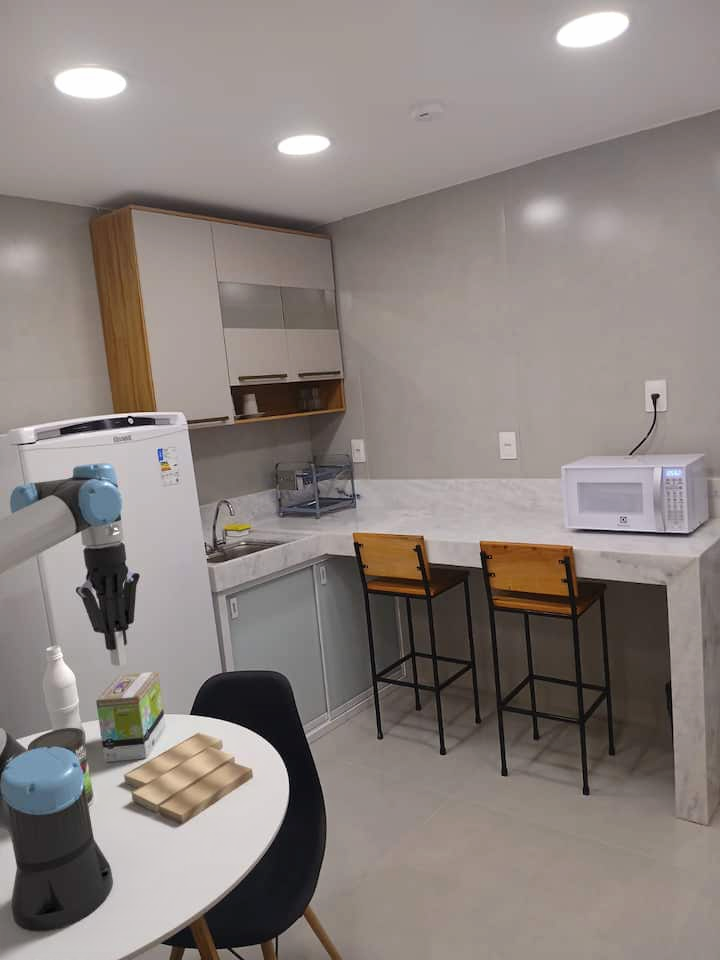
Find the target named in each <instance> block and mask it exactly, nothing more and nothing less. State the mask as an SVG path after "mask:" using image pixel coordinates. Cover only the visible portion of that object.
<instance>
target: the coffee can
mask: <svg viewBox="0 0 720 960" xmlns="http://www.w3.org/2000/svg"><path fill="white" fill-rule="evenodd" d="M83 737H84V735H83V731H82V730H81V729H78V728H64V729H59V730H55V731H53V730H52V731H51V730H50V731H49V732H46V733H44V734H42V735H40V736H37V737H36V738H34V739H32V741H31V742H29V744H28V745H27V750H28V751H30V750H33V749H37V748H43V747H47V749H49V748H52V747H61V748H65V749H67V750H70V751H71V752H73V753H74V754H75V755H76V756H77V758H78V759H79V762H80V765H81V769H82V770H83V774H84V779H85V790H86V796H87V801H88V807H90V806H91V805H92V804H93V802H94V800H95V796H94V791H93V787H92V779H91V775H90V767H89V763H88V758H87V756H88V755H87V752H86V745H85V744H86V743H85V744H84V738H83Z"/></svg>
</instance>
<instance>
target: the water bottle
mask: <svg viewBox="0 0 720 960" xmlns="http://www.w3.org/2000/svg"><path fill="white" fill-rule="evenodd" d="M45 651H46V661H47V667H46V670H45V672H44V675H43V679H42V683H41V684H42V686H41V687H42V689H43V694H44V699H45V707H46V710H47V713H48V715H49V718H50V722H51V727H52V729H51V730H52V731H55V730H59V729H64V728H78V729H81V730H82V731H83V735H84V737H83V738H84V744H86V741H87V740H86V739H87V737H86V731H85V729H84V727H83V724H82V721H81V716H80V710H79V709H80V708H79V706H80V705H79V703H80V699H79V694H78V693H79V692H78V689H77V683H76V679H77V678H76V676H75V674H74V672H73V671H72V669H71V668H70V667H69V666H68V665H67V664H66V663H65V662H64V661H65V660H64V659H63V657H64V655H63V653H62V649H61V646H60V645H52V646H50V647H47V648H46V649H45Z"/></svg>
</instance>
